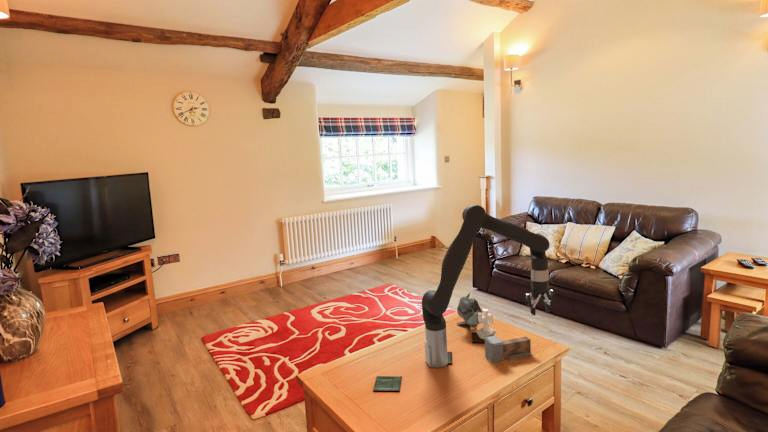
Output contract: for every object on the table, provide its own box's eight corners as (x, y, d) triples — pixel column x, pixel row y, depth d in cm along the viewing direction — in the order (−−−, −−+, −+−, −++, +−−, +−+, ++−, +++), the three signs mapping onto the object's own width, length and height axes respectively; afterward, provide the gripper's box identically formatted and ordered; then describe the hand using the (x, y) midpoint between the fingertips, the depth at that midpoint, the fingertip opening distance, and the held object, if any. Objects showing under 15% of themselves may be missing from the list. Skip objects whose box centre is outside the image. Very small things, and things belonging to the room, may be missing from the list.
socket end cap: (492, 363, 189) (491, 344, 187) (485, 356, 195) (484, 337, 194) (503, 360, 190) (503, 342, 189) (496, 353, 197) (495, 335, 195)
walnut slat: (502, 359, 192) (502, 344, 191) (498, 355, 195) (498, 341, 194) (530, 354, 195) (530, 339, 194) (526, 350, 198) (526, 336, 197)
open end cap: (509, 359, 191) (509, 356, 190) (502, 352, 197) (502, 349, 197) (529, 355, 193) (529, 352, 192) (521, 349, 199) (521, 346, 199)
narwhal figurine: (456, 335, 218) (454, 301, 215) (456, 322, 233) (455, 291, 230) (485, 335, 216) (483, 301, 213) (483, 323, 231) (482, 291, 228)
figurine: (498, 337, 213) (497, 308, 211) (485, 343, 208) (484, 314, 205) (486, 332, 219) (485, 304, 216) (474, 338, 213) (473, 310, 211)
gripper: (549, 273, 197) (549, 308, 200) (520, 278, 194) (521, 313, 197) (559, 278, 190) (559, 314, 192) (529, 283, 187) (530, 319, 189)
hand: (540, 313), depth 195 cm, fingers open, 6 cm apart
